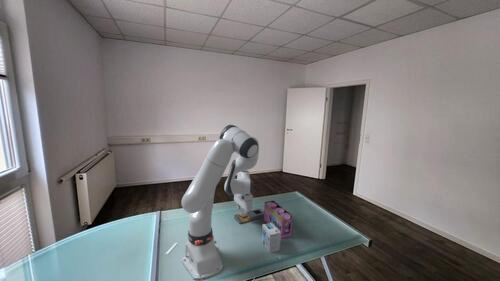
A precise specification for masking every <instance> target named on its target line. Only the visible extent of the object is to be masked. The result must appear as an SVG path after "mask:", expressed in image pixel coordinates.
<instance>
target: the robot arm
mask: <svg viewBox="0 0 500 281" xmlns="http://www.w3.org/2000/svg"><path fill="white" fill-rule="evenodd" d="M259 151H260V144H259V140H258V139H257V138H256V137H254V136H251V135H250V134H248V133H247V131H245V130H243V129H241V128H239V127H238V126H236V125H234V124H228V125H227V126H225V127H224V128H222V130H221V133H220V135H219V139H217V140H216V141H215V142H214V143H213V144H212V146H211V147H210V149H209V151H208V152H207V154H206V157H205V158H204V160H203V162H202V164H201V166H200V168H199V170H198V171H197V173H196V175H195V177H194V178H193V179H192V181H191V183H190V184H189V186H188V188H187V190H186V191H185V193H184V194H183V196H182V198H181V203H180V204H181V207H182V208H183V210H184V211H185V212H186V213H189V215H188V231H187V232H188V233H187V239H188V240H187V241H186V242H185V246H184V256H183V257H182V258H181V263H182V264H183V266H184V268H185V269H186V270H187V272H188V274H191V275H190V276H191V278H192V279H193V278H194V279H200V280H204V279H203V278H205V279H207V278H210V277H213V276H215V275H217V274H218V273H219V272H221V271H222V270H223V263H222V259H221V256H220V247H219V246H216V244H217V241H216V240H215V238H214V237H215V236H214V234H213V228H212V215H213V207H214V199H215V194H216V189H217V188H216V187H217V185H218V184H219V182H220V181H221V179H222V177H223V176H224V175H223V174H224V173H225V171H226V169H227V167H228V165H229V163H230V161H231V158H232V156H233V154H234V153H236V154H238V156H237V157H236V159H234V160H232V162H231V165H230V167H229V170H228V174H227V176H226V180H225V182H224V188H223V189H224V192H225V194H227V195H228V196H233V201H234V202H235V203H236V208H237V210H241V209H242V210H245V212H244V215H245V216H246V215H247V213H248V212H249V211H252V210H253V205H254V204H253V200H254V196H253V194H252V193H253V192H254V181H253V180H252V179H251V176H250V170H251V169H253V168H254V167H255V166H256V165H257V162H258V159H259V153H260V152H259ZM236 175H237V176H236ZM194 279H193V280H194Z"/></svg>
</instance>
